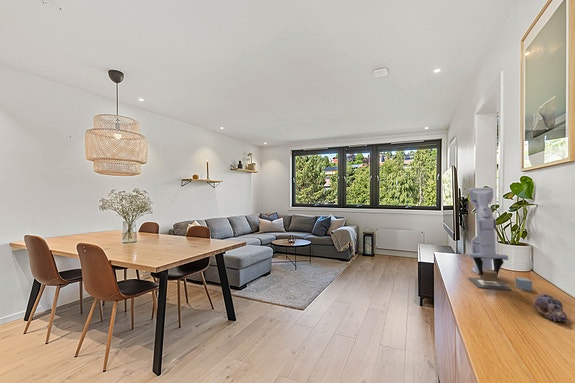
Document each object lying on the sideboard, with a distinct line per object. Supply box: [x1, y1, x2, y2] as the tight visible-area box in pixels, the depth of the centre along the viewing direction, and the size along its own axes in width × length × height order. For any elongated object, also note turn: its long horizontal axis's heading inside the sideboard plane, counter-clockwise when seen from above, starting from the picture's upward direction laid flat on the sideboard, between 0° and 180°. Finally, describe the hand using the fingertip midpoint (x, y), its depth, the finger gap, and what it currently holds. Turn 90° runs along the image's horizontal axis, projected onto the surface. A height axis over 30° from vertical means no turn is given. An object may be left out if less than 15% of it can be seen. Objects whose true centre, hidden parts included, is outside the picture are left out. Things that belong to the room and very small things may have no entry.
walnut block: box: [479, 269, 499, 282], centre depth 120 cm, size 5×5×4 cm
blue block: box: [515, 277, 533, 291], centre depth 115 cm, size 4×4×4 cm
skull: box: [533, 293, 568, 325], centre depth 88 cm, size 12×8×6 cm, turn 149°
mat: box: [468, 277, 513, 292], centre depth 120 cm, size 14×12×1 cm
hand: (488, 274), depth 120 cm, fingers closed on walnut block, 5 cm apart
